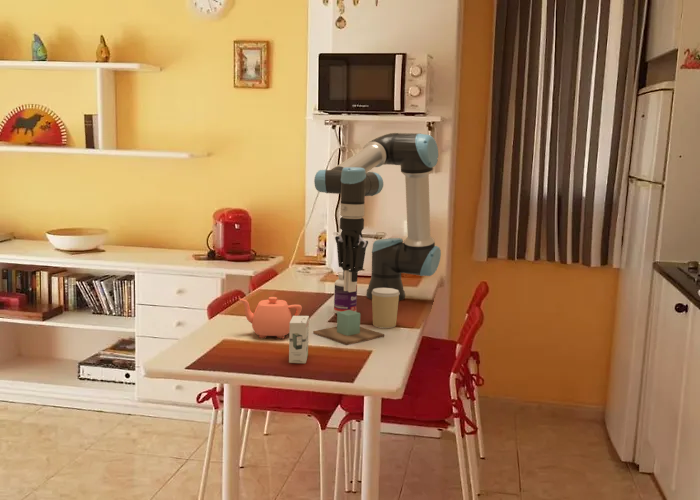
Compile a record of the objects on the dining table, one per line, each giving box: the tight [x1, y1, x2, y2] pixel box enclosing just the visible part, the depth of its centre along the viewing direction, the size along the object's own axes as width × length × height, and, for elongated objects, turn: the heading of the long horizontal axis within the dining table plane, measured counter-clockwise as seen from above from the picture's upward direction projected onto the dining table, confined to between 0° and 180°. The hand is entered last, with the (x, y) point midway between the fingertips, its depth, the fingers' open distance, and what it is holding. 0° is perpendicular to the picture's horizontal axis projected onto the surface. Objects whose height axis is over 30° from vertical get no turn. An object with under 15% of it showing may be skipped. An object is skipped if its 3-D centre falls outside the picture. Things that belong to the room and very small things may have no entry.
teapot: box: [238, 296, 303, 340], centre depth 238 cm, size 13×20×12 cm, turn 91°
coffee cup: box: [371, 288, 400, 329], centre depth 254 cm, size 9×9×12 cm
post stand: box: [312, 325, 385, 346], centre depth 241 cm, size 16×16×6 cm
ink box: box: [288, 315, 310, 364], centre depth 215 cm, size 9×5×12 cm, turn 178°
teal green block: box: [336, 310, 361, 336], centre depth 241 cm, size 5×5×7 cm
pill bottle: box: [333, 272, 358, 315], centre depth 268 cm, size 8×8×14 cm
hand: (349, 290), depth 239 cm, fingers closed
